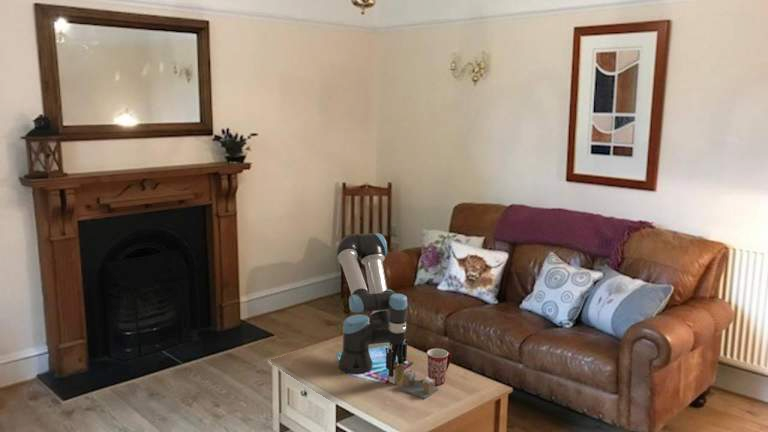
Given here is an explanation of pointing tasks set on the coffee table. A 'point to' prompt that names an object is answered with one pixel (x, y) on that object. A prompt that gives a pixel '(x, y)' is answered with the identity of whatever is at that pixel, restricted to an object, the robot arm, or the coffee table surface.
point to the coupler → (398, 373)
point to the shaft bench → (418, 385)
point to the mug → (438, 365)
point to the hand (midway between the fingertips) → (395, 380)
